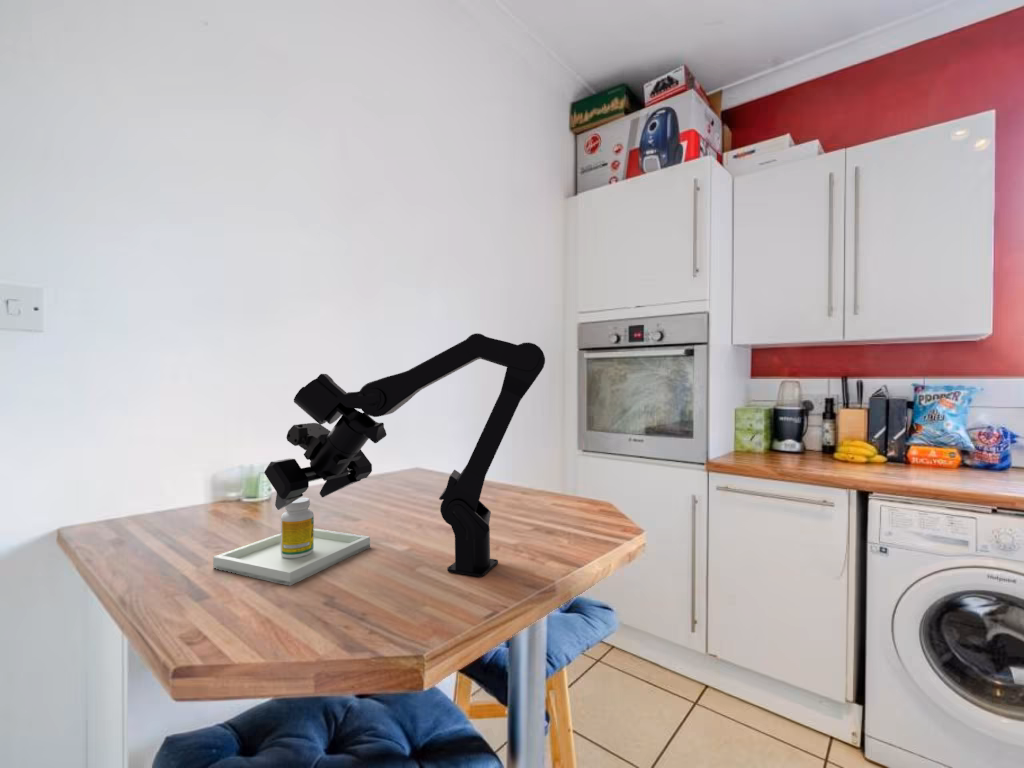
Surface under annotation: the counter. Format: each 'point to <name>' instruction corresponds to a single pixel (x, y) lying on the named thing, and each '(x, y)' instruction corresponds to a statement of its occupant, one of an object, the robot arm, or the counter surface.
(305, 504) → the supplement bottle
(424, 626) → the counter surface
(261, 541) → the tray
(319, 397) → the robot arm
